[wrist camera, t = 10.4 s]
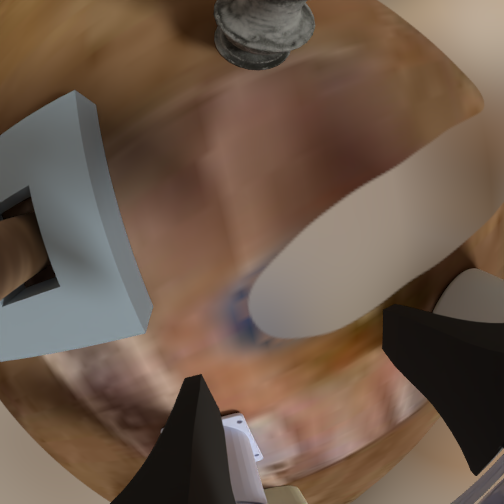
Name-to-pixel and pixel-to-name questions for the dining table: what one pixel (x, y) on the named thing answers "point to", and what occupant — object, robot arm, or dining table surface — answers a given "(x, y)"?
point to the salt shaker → (261, 30)
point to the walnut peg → (20, 251)
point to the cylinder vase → (473, 297)
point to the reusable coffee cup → (284, 495)
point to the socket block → (69, 236)
